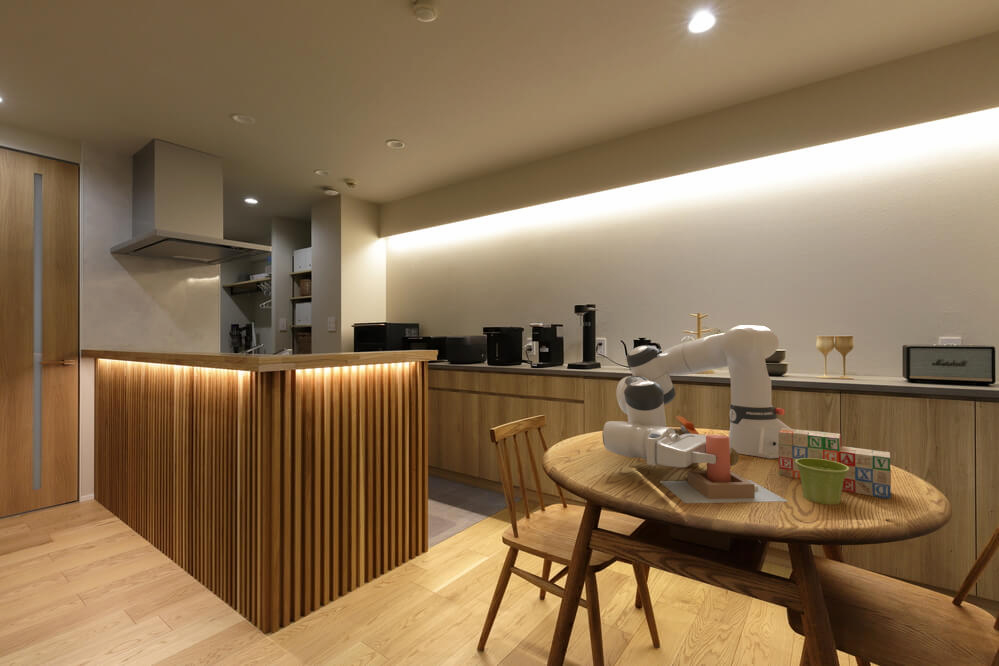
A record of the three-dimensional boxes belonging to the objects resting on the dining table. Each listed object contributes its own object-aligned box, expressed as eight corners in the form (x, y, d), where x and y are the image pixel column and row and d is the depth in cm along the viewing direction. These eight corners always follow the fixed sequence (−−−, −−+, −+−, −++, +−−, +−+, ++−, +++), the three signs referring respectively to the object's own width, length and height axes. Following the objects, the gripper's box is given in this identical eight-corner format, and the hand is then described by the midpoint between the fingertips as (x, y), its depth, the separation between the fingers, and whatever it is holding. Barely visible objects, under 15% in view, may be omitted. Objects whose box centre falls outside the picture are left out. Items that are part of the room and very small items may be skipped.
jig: (749, 484, 109) (749, 467, 109) (788, 506, 95) (788, 486, 95) (659, 486, 109) (659, 468, 109) (685, 508, 95) (685, 488, 95)
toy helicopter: (670, 460, 131) (670, 413, 131) (745, 478, 114) (744, 424, 114) (654, 465, 126) (653, 416, 126) (729, 485, 109) (728, 428, 109)
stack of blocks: (891, 492, 104) (890, 438, 104) (891, 500, 99) (890, 444, 99) (782, 474, 118) (782, 426, 118) (778, 480, 113) (777, 430, 113)
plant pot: (853, 504, 97) (852, 463, 97) (845, 517, 90) (844, 473, 90) (801, 493, 103) (801, 455, 103) (790, 504, 97) (790, 464, 97)
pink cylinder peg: (724, 486, 105) (722, 434, 105) (735, 493, 100) (733, 438, 100) (703, 487, 104) (701, 435, 105) (714, 494, 100) (712, 439, 100)
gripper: (680, 449, 119) (737, 459, 109) (644, 466, 104) (707, 479, 94) (679, 425, 119) (737, 433, 109) (644, 439, 104) (707, 449, 94)
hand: (723, 455), depth 102 cm, fingers open, 8 cm apart
